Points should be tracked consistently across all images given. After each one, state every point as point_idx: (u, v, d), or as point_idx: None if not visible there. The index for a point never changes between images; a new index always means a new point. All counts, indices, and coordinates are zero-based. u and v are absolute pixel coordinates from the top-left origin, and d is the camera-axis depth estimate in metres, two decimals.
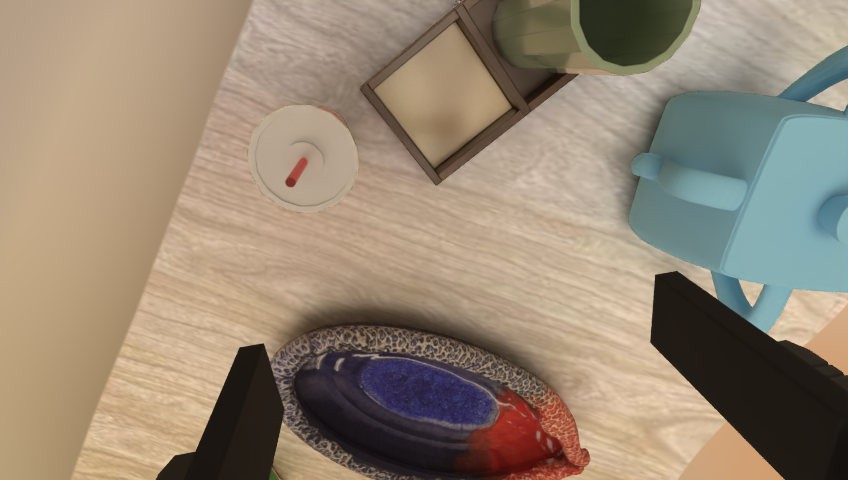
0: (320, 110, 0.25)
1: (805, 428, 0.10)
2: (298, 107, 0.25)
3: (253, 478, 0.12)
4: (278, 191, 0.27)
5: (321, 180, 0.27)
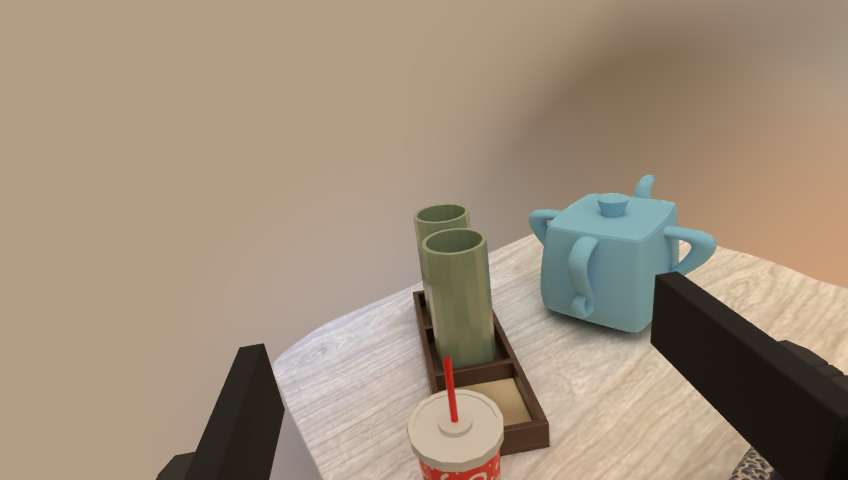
0: (427, 398, 0.32)
1: (805, 429, 0.10)
2: (416, 409, 0.31)
3: (253, 478, 0.12)
4: (468, 451, 0.27)
5: (478, 419, 0.29)
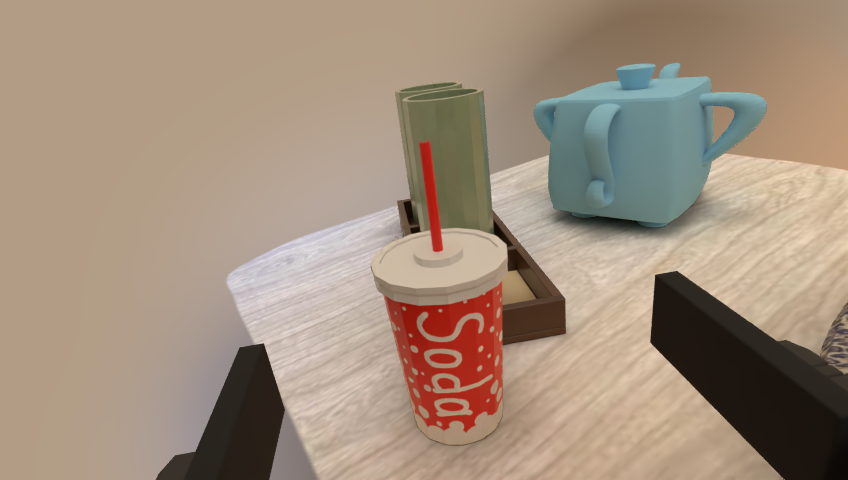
0: (401, 238, 0.23)
1: (805, 429, 0.10)
2: (385, 247, 0.22)
3: (253, 478, 0.12)
4: (457, 278, 0.19)
5: (471, 251, 0.21)
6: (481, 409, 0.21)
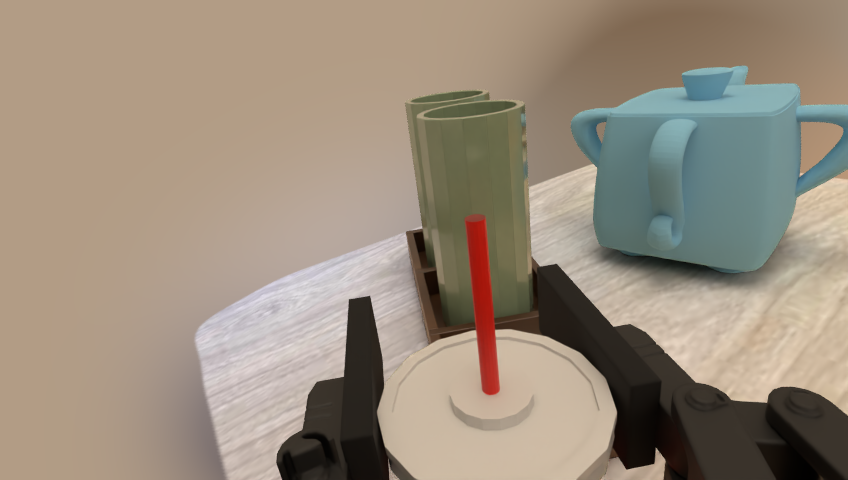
0: (424, 348, 0.15)
1: (616, 398, 0.12)
2: (400, 369, 0.14)
3: None
4: (536, 467, 0.10)
5: (545, 389, 0.12)
6: None
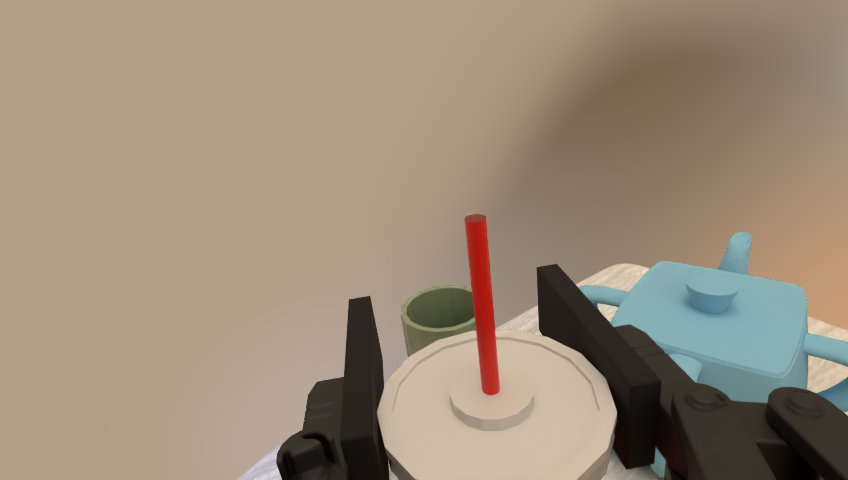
0: (424, 348, 0.14)
1: (616, 398, 0.12)
2: (399, 370, 0.14)
3: None
4: (536, 467, 0.10)
5: (546, 389, 0.12)
6: None
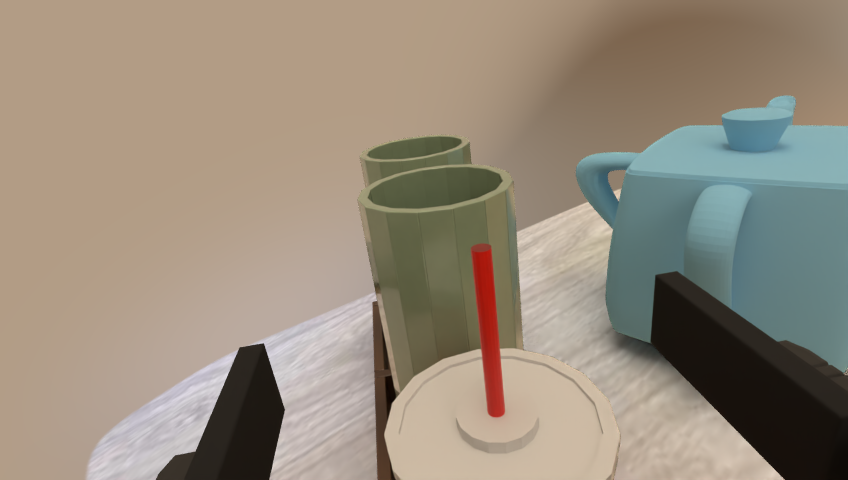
0: (430, 367, 0.15)
1: (805, 429, 0.10)
2: (406, 390, 0.14)
3: (253, 478, 0.12)
4: None
5: (550, 411, 0.13)
6: None
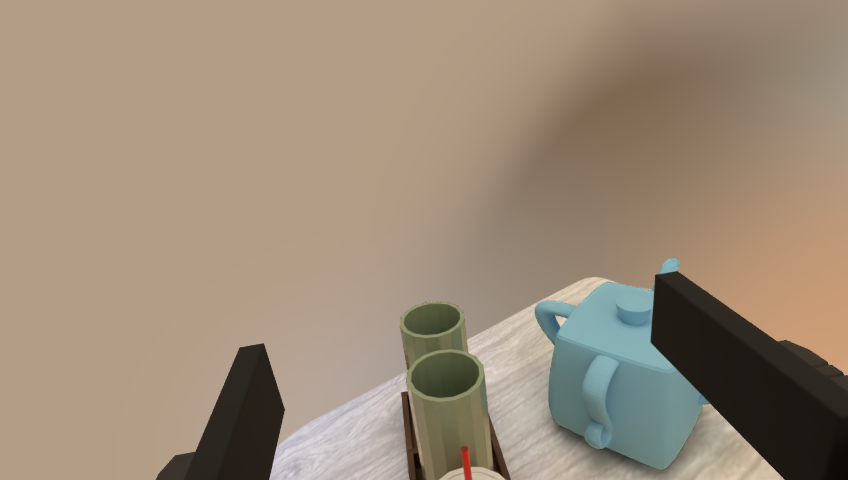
0: (443, 477, 0.32)
1: (805, 429, 0.10)
2: None
3: (253, 478, 0.12)
4: None
5: None
6: None
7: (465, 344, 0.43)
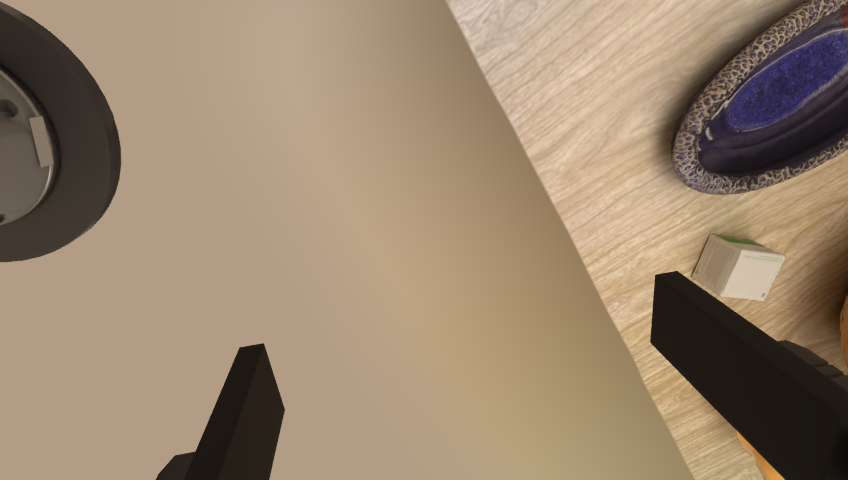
0: None
1: (805, 429, 0.10)
2: None
3: (253, 478, 0.12)
4: None
5: None
6: None
7: None
